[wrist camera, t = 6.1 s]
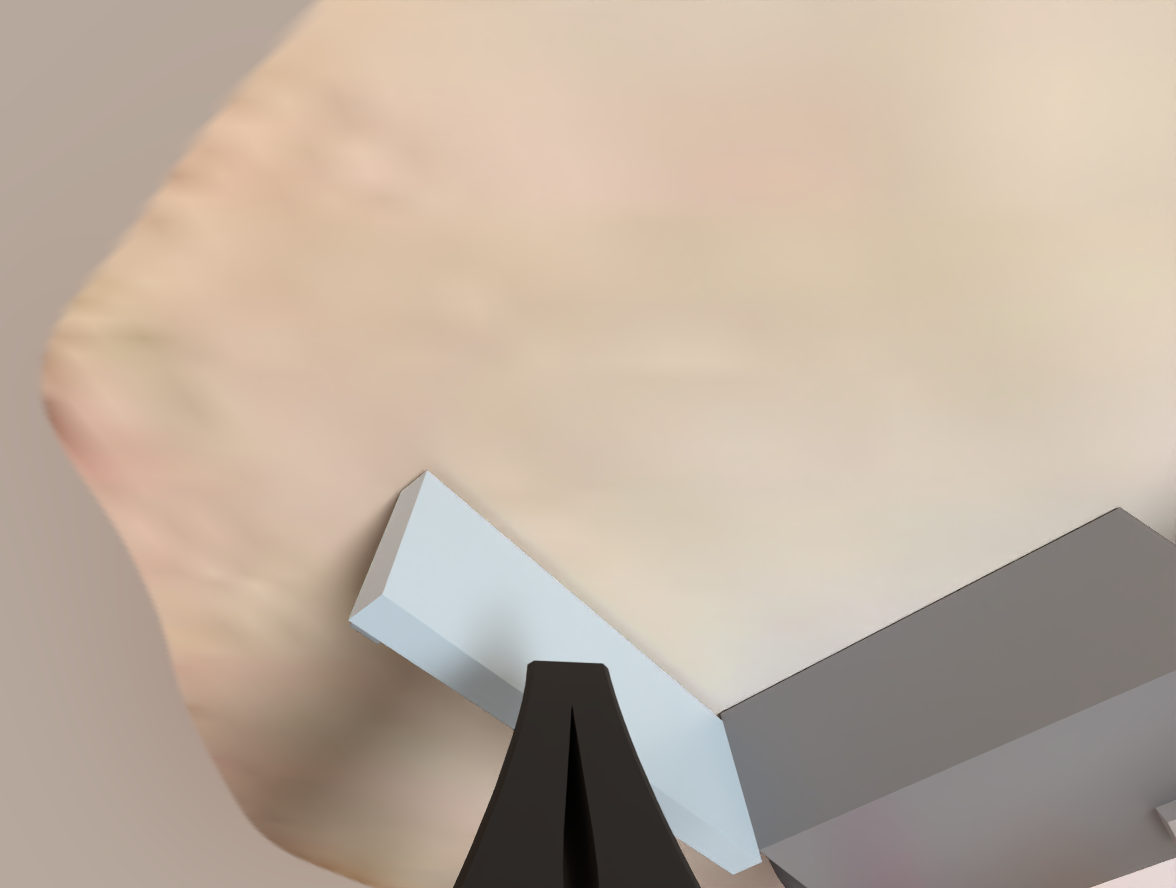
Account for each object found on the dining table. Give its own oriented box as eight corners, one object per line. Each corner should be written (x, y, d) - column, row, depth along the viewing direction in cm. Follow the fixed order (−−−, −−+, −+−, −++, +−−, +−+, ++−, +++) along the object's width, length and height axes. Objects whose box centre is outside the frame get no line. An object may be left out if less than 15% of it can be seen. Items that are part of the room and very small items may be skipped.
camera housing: (1120, 507, 17) (1307, 635, 13) (1185, 677, 21) (1344, 817, 17) (692, 727, 21) (728, 880, 17) (817, 835, 25) (870, 980, 21)
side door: (370, 516, 16) (309, 649, 12) (426, 470, 15) (382, 593, 11) (672, 747, 21) (699, 889, 17) (722, 721, 21) (762, 862, 17)
